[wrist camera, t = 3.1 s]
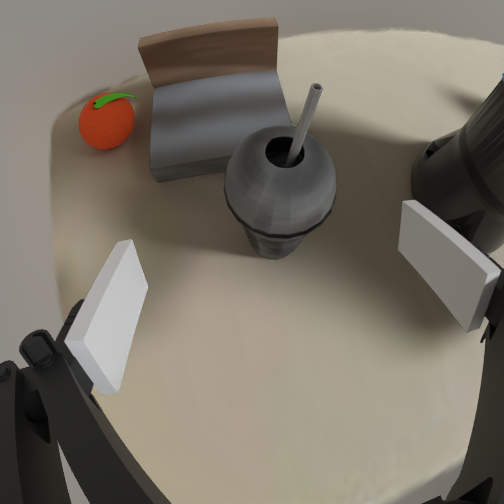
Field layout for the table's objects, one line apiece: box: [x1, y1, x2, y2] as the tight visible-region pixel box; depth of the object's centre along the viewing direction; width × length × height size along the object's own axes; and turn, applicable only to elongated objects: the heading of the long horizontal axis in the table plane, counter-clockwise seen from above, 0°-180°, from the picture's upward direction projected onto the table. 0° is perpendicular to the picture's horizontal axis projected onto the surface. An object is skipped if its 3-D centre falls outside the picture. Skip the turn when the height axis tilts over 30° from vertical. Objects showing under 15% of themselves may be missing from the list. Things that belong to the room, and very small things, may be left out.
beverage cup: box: [224, 83, 336, 259], centre depth 21 cm, size 7×7×20 cm
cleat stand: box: [138, 18, 291, 182], centre depth 30 cm, size 14×15×10 cm
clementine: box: [79, 93, 138, 150], centre depth 31 cm, size 8×7×7 cm
